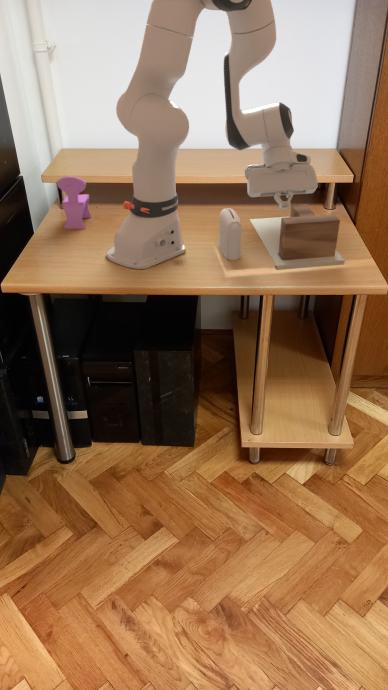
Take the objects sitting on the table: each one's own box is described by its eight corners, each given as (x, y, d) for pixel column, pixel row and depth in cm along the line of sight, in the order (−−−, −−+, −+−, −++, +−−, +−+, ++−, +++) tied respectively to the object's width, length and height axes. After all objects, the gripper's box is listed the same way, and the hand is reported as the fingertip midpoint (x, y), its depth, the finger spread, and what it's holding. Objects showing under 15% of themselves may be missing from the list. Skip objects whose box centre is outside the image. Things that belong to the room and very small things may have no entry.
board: (249, 223, 171) (249, 219, 171) (308, 218, 173) (308, 215, 173) (276, 270, 147) (276, 265, 146) (343, 264, 149) (344, 260, 149)
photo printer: (217, 247, 158) (218, 204, 151) (232, 246, 159) (234, 203, 152) (226, 264, 150) (227, 220, 143) (242, 263, 150) (244, 218, 143)
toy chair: (95, 217, 176) (89, 168, 168) (88, 228, 169) (82, 178, 160) (68, 216, 177) (61, 167, 168) (61, 228, 170) (53, 178, 161)
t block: (270, 240, 158) (273, 206, 153) (319, 237, 160) (323, 202, 154) (282, 260, 149) (285, 224, 143) (334, 256, 150) (339, 220, 145)
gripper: (245, 160, 163) (252, 206, 161) (315, 156, 165) (322, 201, 163) (241, 170, 169) (247, 215, 167) (309, 166, 171) (315, 210, 169)
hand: (285, 208), depth 165 cm, fingers closed
